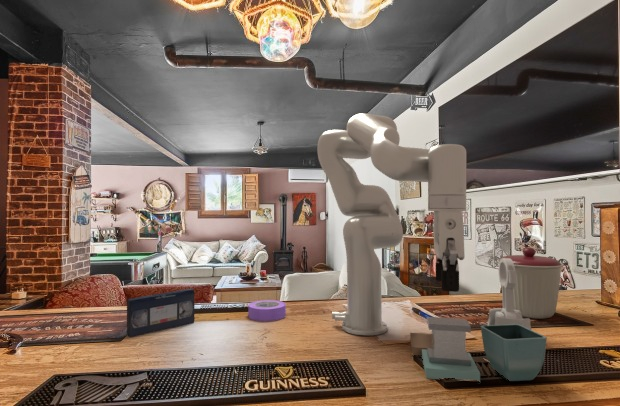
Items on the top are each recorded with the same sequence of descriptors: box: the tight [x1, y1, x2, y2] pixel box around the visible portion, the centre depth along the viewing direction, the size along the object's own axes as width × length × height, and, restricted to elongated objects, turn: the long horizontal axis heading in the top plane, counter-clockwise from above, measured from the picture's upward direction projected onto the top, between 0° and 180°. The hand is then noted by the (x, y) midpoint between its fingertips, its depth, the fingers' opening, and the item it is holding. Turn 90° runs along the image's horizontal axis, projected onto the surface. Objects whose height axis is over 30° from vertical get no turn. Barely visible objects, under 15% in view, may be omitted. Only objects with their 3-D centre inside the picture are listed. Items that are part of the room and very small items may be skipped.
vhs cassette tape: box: [126, 288, 196, 338], centre depth 105 cm, size 18×3×10 cm, turn 131°
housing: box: [426, 316, 472, 366], centre depth 78 cm, size 8×5×8 cm, turn 78°
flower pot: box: [480, 324, 548, 382], centre depth 75 cm, size 9×9×9 cm
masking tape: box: [247, 299, 287, 322], centre depth 117 cm, size 12×12×4 cm
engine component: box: [487, 257, 532, 330], centre depth 96 cm, size 11×20×10 cm
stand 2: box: [421, 349, 481, 383], centre depth 77 cm, size 10×10×2 cm
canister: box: [496, 246, 565, 320], centre depth 117 cm, size 18×18×21 cm
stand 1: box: [409, 332, 432, 357], centre depth 89 cm, size 10×10×2 cm
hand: (446, 285), depth 78 cm, fingers open, 9 cm apart
